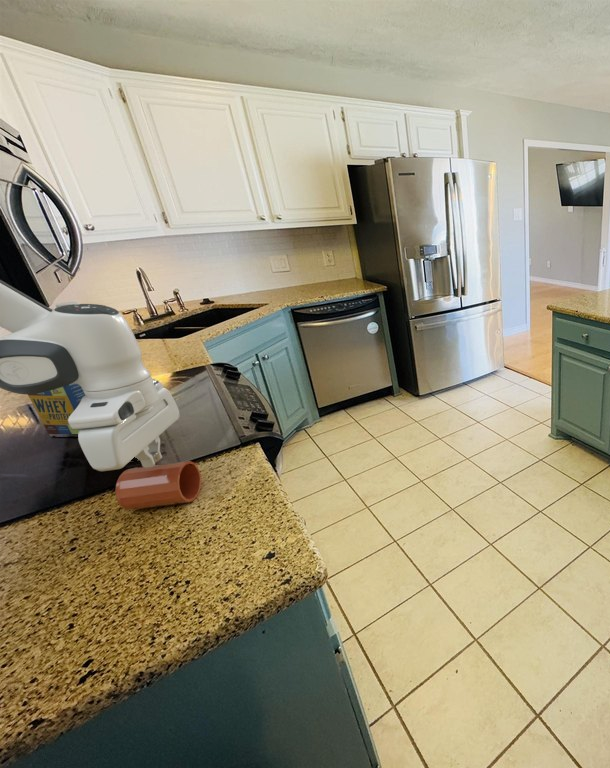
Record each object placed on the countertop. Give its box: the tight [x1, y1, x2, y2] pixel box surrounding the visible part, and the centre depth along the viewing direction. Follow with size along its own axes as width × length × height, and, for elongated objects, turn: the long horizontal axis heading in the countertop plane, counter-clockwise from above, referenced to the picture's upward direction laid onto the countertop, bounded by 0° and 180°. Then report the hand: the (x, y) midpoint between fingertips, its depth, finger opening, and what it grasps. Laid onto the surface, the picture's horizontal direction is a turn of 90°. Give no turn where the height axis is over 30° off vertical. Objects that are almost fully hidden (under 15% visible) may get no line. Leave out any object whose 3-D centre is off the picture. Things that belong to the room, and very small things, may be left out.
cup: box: [115, 460, 202, 511], centre depth 79 cm, size 8×8×10 cm
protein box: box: [27, 384, 85, 435], centre depth 108 cm, size 10×15×16 cm
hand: (153, 463), depth 77 cm, fingers closed
